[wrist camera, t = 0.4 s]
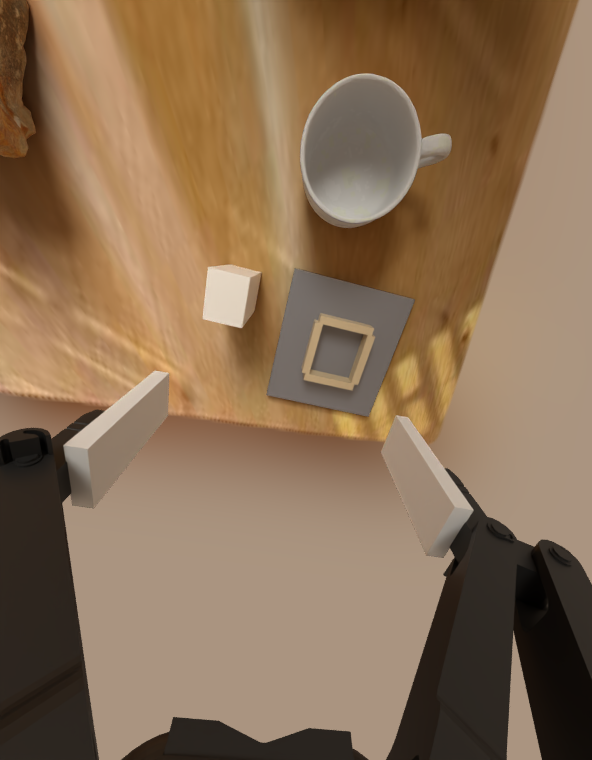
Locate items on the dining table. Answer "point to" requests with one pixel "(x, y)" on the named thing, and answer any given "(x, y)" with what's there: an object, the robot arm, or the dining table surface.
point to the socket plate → (336, 342)
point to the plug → (230, 294)
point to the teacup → (364, 150)
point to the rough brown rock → (13, 79)
